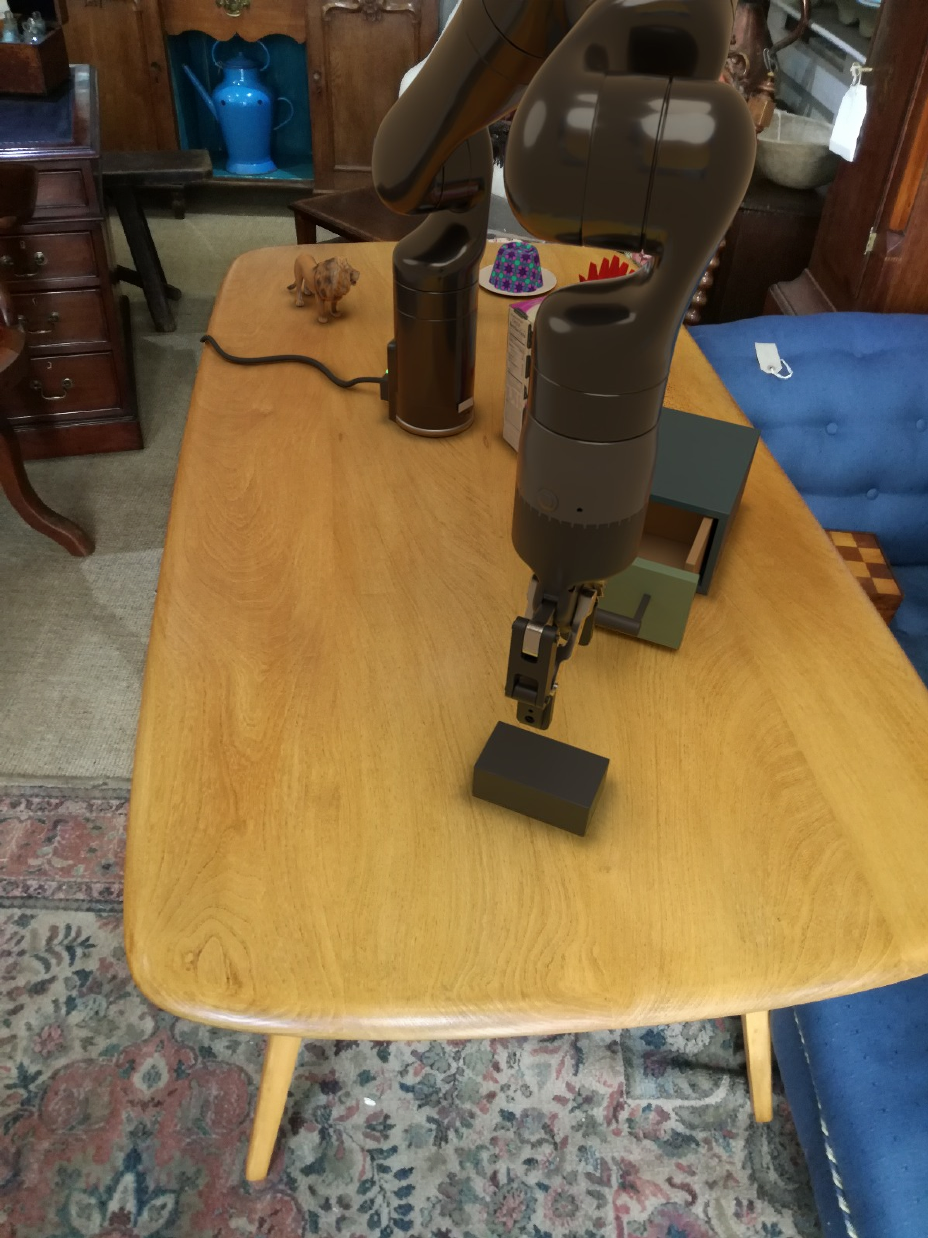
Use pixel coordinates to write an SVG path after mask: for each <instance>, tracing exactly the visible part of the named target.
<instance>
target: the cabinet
mask: <svg viewBox="0 0 928 1238" xmlns="http://www.w3.org/2000/svg"><path fill="white" fill-rule="evenodd" d="M761 433H762V429H759V428H755V427H752V426H751V427H750V426H746V425H742V424H739V423H734V422H730V421H726V420H721V419H718V418H713V417H710V416H709V417H708V416H705V415H700V414H697V413H692V412H688V411H684V410H679V409H674V408H670V407H666V406H663V407H662V412H661V416H660V423H659V445H658V455H657V461H656V467H655V472H654V477H653V482H652V487H651V492H650V497H649V501H653V502H657V503H660V504H664V505H668V506H672V507H676V508H679V509H683V510H687V511H691V512H694V513H698V514H702V515H706V516H709V517H713V518H717V520H716V523H715V527H714V531H713V534H712V538H711V542H710V545H709V549H708V552H707V555H706V558H705V560H704V563H703V565H702V568H701V571H700V573H699V575H700V576H699V580H698V584H697V587H696V591H695V593H697V594H701V595H704V596H708V594H709V590H710V589H711V586H712V582H713V580H714V577H715V574H716V572H717V569H718V566H719V564H720V561H721V559H722V556H723V553H724V551H725V547H726V545H727V542H728V540H729V536H730V534H731V531H732V528H733V526H734V524H735V520H736V517H737V515H738V512H739V510H740V506H741V502H742V499H743V496H744V493H745V488H746V486H747V482H748V479H749V475H750V472H751V468H752V465H753V461H754V457H755V454H756V451H757V447H758V443H759V441H760V436H761Z"/></svg>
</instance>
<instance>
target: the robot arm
mask: <svg viewBox="0 0 928 1238" xmlns="http://www.w3.org/2000/svg"><path fill="white" fill-rule="evenodd" d="M738 2H739V0H461V1H460V3H459V5H458V7H457V9H456V10H455V13H454V15H453V17H452V18H451V20H450V21H449V23H448V24H447V26H446V28H445V29H444V31H443V33H442V34H441V36H440V38H439V39H438V41H437V43H436V44H435V46H434V47H433V49H432V51H431V53H430V54H429V56H428V58H427V59H426V61H425V62H424V64H423V65H422V67H421V68H420V70H419V71H418V73H417V74H416V75H415V77H414V78H413V80H412V81H411V82H410V83H409V85H408V86H407V87H406V89H405V90H404V91H403V93H402V94H401V95H400V96H399V97H398V99H397V100H396V101H395V103H394V104H393V105H392V106H391V107H390V109H389V110H388V112H387V113H386V114H385V116H384V117H383V119H382V121H381V122H380V124H379V126H378V128H377V131H376V133H375V136H374V140H373V143H372V149H371V158H370V172H371V179H372V184H373V188H374V190H375V192H376V195H377V196H378V198H379V200H380V201H381V202H382V203H383V205H384V206H385V207H387V208H388V209H389V210H391V211H392V212H394V213H396V214H398V215H402V216H413V217H414V216H417V217H418V216H419V217H420V216H425V215H428V216H426V217H425V219H424V221H422V223H420V225H418V226H417V227H416V228H415V229H414V230H412V231H410V233H408V234H406V235H405V236H403V237H402V238H401V239H400V240H399V241H398V242H397V243H396V245H394V249H393V251H392V257H391V259H392V260H391V263H392V264H391V265H392V266H391V267H392V268H391V270H392V303H393V304H392V305H393V306H392V309H393V338H392V339H391V340H390V341H389V342H388V343H387V344H386V363H387V364H386V365H387V366H386V368H387V369H386V372H385V373H384V374H383V375H382V376H381V377H380V376H378V377H377V376H357V377H354V378H353V379H350V380H347V381H346V380H344V379H343V380H342V379H340V378H338V377H336V376H335V375H334V373H333V372H331V370H329V369H328V368H327V367H326V366H325V365H324V364H323V363H322V362H321V361H319V360H317V359H315V358H313V357H310V356H305V355H299V354H278V355H276V354H275V355H267V356H257V357H243V356H242V357H240V356H235V355H232V354H229V353H227V352H226V351H224V350H223V348H221V347H220V345H219V343H218V342H217V340H216V339H215V338H214V337H213V336H212V335H210V334H204V335H203V336H202V337H200V339H199V342H200V343H206V342H209V343H210V345H211V346H212V348H213V349H214V350H215V352H216V353H217V354H218V355H219V356H221V357H222V358H223V359H225V360H227V361H229V362H231V363H237V364H244V365H245V364H251V365H252V364H264V363H273V362H274V363H275V362H284V361H285V362H286V361H295V362H303V363H307V364H310V365H312V366H315V367H316V368H318V369H319V370H320V371H321V372H322V373H323V374H324V375H325V376H326V377H327V378H328V379H329V380H330V381H331V382H333V383H335V384H336V385H337V386H340V387H343V388H350V387H353V386H355V385H358V384H364V383H365V384H366V383H367V384H369V383H370V384H379V397H380V401H384V402H388V403H387V404H388V405H387V406H388V419H389V420H390V421H394V422H396V423H397V424H398V426H399V427H400V428H401V429H403V430H405V431H406V432H409V433H411V434H413V435H418V436H421V437H429V438H441V437H449V436H453V435H457V434H459V433H462V432H463V431H465V430H467V429H468V428H469V427H470V426H471V425H472V424H473V422H474V420H475V408H474V407H475V386H476V385H475V383H476V382H475V381H476V363H477V362H476V360H477V338H478V337H477V334H478V315H479V314H478V313H479V292H480V291H479V289H480V287H479V286H480V284H479V271H480V270H481V268H480V267H481V263H482V260H483V258H484V255H485V252H486V248H487V242H488V232H489V231H488V230H489V221H490V220H489V219H490V211H491V210H490V209H491V202H492V201H491V200H492V191H493V180H494V178H493V177H494V151H493V143H492V142H493V141H492V138H491V134H490V130H489V126H491V125H492V124H494V123H496V122H497V121H499V120H501V119H503V118H504V117H506V116H508V115H509V114H511V113H512V112H514V111H515V112H514V115H513V117H512V121H511V123H510V126H509V130H508V133H507V138H506V141H505V146H504V152H503V161H502V180H503V187H504V193H505V197H506V200H507V203H508V205H509V208H510V210H511V213H512V214H513V216H514V218H515V219H516V221H517V222H518V224H519V225H520V226H521V227H522V228H523V229H524V230H525V231H526V232H527V233H528V234H529V235H531V236H532V237H534V238H536V239H538V240H540V241H544V242H547V243H550V244H555V245H562V246H568V247H569V246H570V247H578V248H583V247H584V248H588V249H597V250H606V251H612V252H621V253H629V254H638V255H640V254H641V253H643V255H645V256H650V258H649V259H648V260H646V262H645V263H643V264H642V266H640V267H639V268H638V269H636V270H635V272H633V273H630V274H627V273H626V275H624V276H620V277H615V278H608V279H601V280H593V281H586V282H580V281H579V282H574V283H571V284H567V285H563V286H561V287H559V288H557V289H555V290H553V291H551V292H550V293H549V294H547V295H545V297H546V298H545V299H544V300H543V301H542V303H541V304H540V306H539V308H538V311H537V313H536V317H535V322H534V326H533V335H532V346H531V360H530V372H529V384H528V396H527V404H526V412H525V416H524V420H523V424H522V428H521V433H520V438H519V446H518V453H517V460H516V471H515V472H516V473H515V483H514V484H515V486H514V496H513V507H512V509H513V510H512V522H511V533H510V535H511V536H510V537H511V543H512V546H513V548H514V551H515V553H516V554H517V556H518V558H520V559H521V561H522V562H524V564H526V565H527V567H529V569H530V570H531V571H532V573H533V574H532V576H531V578H530V581H529V583H528V587H527V591H526V600H527V602H528V603H527V606H526V610H525V612H524V616H521V615H517V616H516V618H515V620H513V622H512V624H511V626H510V627H511V636H510V642H509V643H510V644H509V651H508V652H509V653H508V662H507V669H506V670H507V671H506V679H505V686H504V697H506V698H508V699H512V700H514V701H517V704H516V706H517V707H516V714H515V718H516V720H517V721H518V722H519V724H522V725H525V726H528V727H531V728H534V729H537V730H539V731H548V729H549V728H550V726H551V724H552V721H553V716H554V710H555V704H556V703H555V702H556V696H557V692H558V690H559V689H560V688H559V687H560V683H559V681H560V680H561V679H560V678H561V675H562V672H563V668H564V665H565V662H566V661H569V660H571V659H573V658H574V657H575V655H576V653H577V649H578V646H583V647H586V646H588V645H589V644H590V643H591V640H592V639H593V635H594V631H595V630H594V629H595V619H596V613H597V607H598V602H600V600H601V598H602V597H604V594H605V591H606V588H607V585H608V582H609V578H612V577H614V576H616V575H618V574H620V573H622V572H623V571H625V570H626V569H627V568H628V567H629V566H630V565H631V564H632V563H633V561H634V560H635V558H636V557H637V554H638V551H639V547H640V542H641V537H642V532H643V527H644V522H645V517H646V512H647V507H648V502H649V497H650V492H651V487H652V482H653V477H654V472H655V467H656V461H657V455H658V445H659V423H660V416H661V412H662V407H664V402H665V397H666V392H667V386H668V381H669V376H670V372H671V371H670V370H671V366H672V361H673V357H674V353H675V348H676V345H677V341H678V337H679V335H680V331H681V328H682V326H683V323H684V320H685V317H686V315H687V312H688V310H689V308H690V306H691V303H692V300H693V298H694V296H695V294H696V293H697V292H696V291H697V290H698V287H699V285H700V284H701V282H702V280H703V277H704V275H705V273H706V272H707V269H708V268H709V266H710V264H711V262H712V260H713V258H714V256H715V255H716V253H717V252H718V249H719V247H720V246H721V244H722V242H723V240H724V238H725V237H726V235H727V233H728V231H729V229H730V228H731V225H732V224H733V222H734V220H735V218H736V216H737V213H738V211H739V209H740V207H741V205H742V203H743V200H744V198H745V196H746V193H747V191H748V189H749V186H750V183H751V180H752V177H753V173H754V168H755V163H756V156H757V145H758V144H757V130H756V125H755V121H754V117H753V113H752V109H750V106H749V105H748V102H747V100H746V98H745V97H744V96H743V95H742V93H740V91H739V90H738V89H737V88H736V87H735V86H733V85H732V84H730V83H728V82H725V81H722V80H720V79H721V77H722V75H723V72H724V70H725V67H726V64H727V61H728V56H729V52H730V47H731V42H732V38H733V37H732V36H733V31H734V27H735V20H736V14H737V10H738V9H737V8H738V4H739V3H738ZM207 335H208V336H207ZM595 601H598V602H595ZM560 638H561V639H562V640H563V641H566V642H565V643H564V644H563V643H560Z"/></svg>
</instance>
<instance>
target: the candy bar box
mask: <svg viewBox="0 0 928 1238" xmlns="http://www.w3.org/2000/svg"><path fill="white" fill-rule="evenodd" d="M545 298H546V296H541V297H536V298H533V299H532V298H531V299H528V300H524V301H518V302H514V303H509V304H508V315H507V316H508V319H507V339H506V341H507V342H506V357H505V380H504V398H503V399H504V400H503V416H502V418H503V420H502V439H503V440H504V441H505V443H506V444H507V445H509V446H510V447H511V448H512V449H513V451H514V452H516V454H518V446H519V438H520V433H521V428H522V424H523V420H524V416H525V412H526V404H527V396H528V384H529V372H530V360H531V346H532V335H533V326H534V322H535V317H536V313H537V311H538V308H539V306H540V304H541V303H542V301H543V300H544V299H545Z"/></svg>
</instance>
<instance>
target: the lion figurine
mask: <svg viewBox="0 0 928 1238" xmlns="http://www.w3.org/2000/svg"><path fill="white" fill-rule="evenodd" d="M293 274H294V282H293V283H292V284H290V285H288V286H286V289H287V290H289V291H292V290H294V289H295V306H296V307H298V308H299V307H303V306H305V302H304V300H303V298H302V287H303V292H304V294H305V295H307V296H310V295H313V294H314V298H315V303H316V309H317V314H318V323H320V324H326V323H328V316H327V313H326V310H325V309H326V308H325V303H326V302H329V303H330V307H329V309H330V314H331V315H332V317H335V318H339V317H340V316H342V311H340V310H338V308H337V307H338V302H340V301H341V300H342V299H343V296H347V294H348V293H349V292H350V291H351V287H355V286H357V281H359V279H360V275H361V272H360V271H359V270H358V269H357V270H356V269H355V268H353V267H352V265H350V264H349V262H348V258H347V257H346V256H345V257H344V256H342V255H341V256H334V257H330V258H329V259H325V260H324V261H319V262H318V263H317V262H316V259H315V257H314V256H313V255H311V254H308V253H304V252H302V253H301V254H299V255H298V256H297V257H296V258H295V260H294V265H293Z"/></svg>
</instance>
